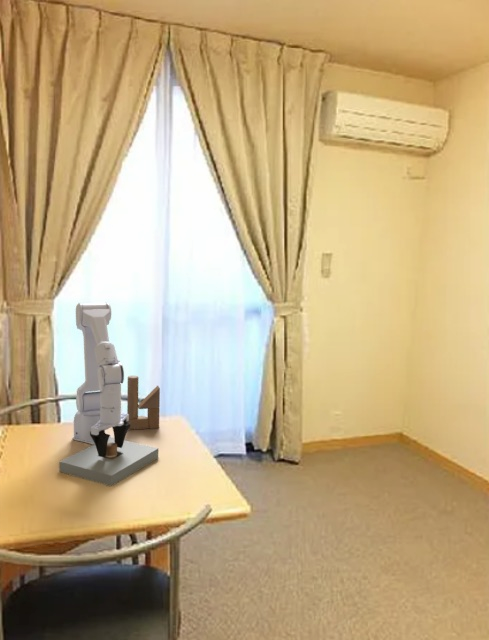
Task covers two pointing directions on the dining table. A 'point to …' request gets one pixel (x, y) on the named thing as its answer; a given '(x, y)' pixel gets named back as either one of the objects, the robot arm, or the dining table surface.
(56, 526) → the dining table surface
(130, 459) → the board
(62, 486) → the dining table surface
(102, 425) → the robot arm
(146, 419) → the wooden block
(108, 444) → the peg
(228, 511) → the dining table surface
